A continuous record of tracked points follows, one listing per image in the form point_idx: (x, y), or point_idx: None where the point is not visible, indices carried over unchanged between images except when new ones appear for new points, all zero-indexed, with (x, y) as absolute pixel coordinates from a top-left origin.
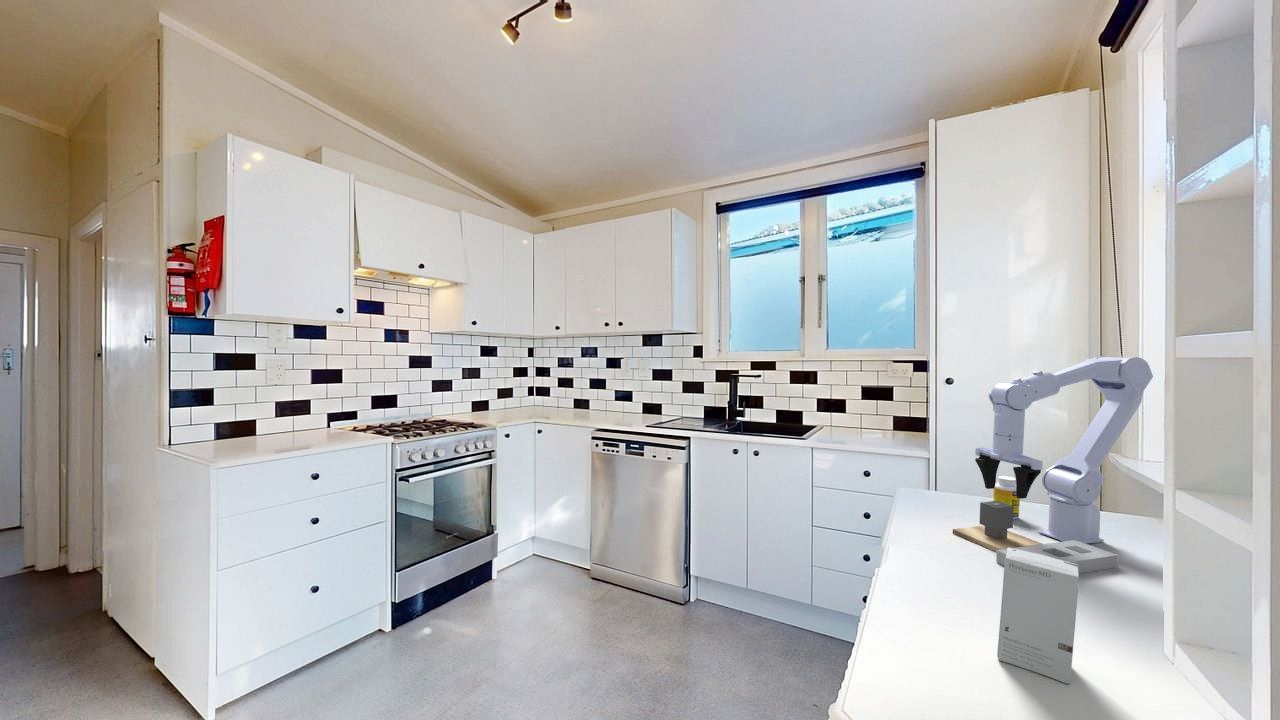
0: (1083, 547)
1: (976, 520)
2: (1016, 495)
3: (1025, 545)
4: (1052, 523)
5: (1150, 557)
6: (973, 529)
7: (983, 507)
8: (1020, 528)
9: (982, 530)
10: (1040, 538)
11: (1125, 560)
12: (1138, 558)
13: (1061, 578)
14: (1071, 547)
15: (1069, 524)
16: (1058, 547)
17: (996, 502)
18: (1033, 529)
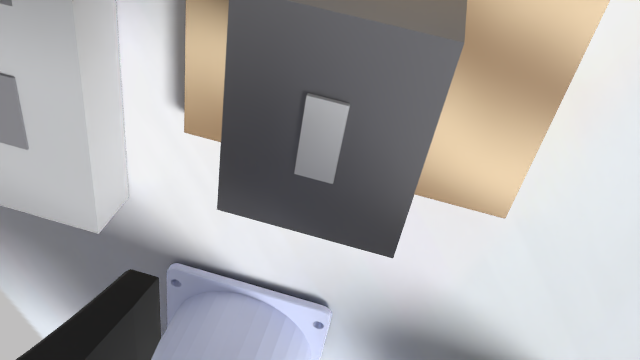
0: (11, 161)
1: (635, 275)
2: (142, 290)
3: (192, 8)
4: (251, 352)
5: (39, 332)
6: (549, 7)
7: (417, 10)
8: (413, 314)
9: (492, 48)
10: (289, 249)
11: (24, 248)
12: (36, 298)
13: None
14: (4, 100)
15: (170, 355)
16: (17, 42)
17: (362, 201)
18: (373, 340)
